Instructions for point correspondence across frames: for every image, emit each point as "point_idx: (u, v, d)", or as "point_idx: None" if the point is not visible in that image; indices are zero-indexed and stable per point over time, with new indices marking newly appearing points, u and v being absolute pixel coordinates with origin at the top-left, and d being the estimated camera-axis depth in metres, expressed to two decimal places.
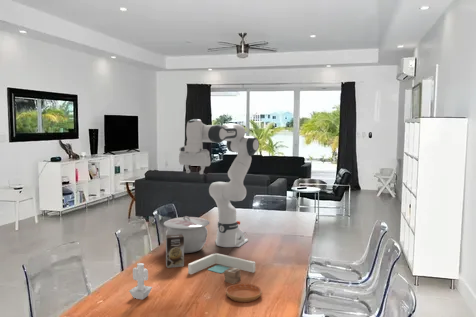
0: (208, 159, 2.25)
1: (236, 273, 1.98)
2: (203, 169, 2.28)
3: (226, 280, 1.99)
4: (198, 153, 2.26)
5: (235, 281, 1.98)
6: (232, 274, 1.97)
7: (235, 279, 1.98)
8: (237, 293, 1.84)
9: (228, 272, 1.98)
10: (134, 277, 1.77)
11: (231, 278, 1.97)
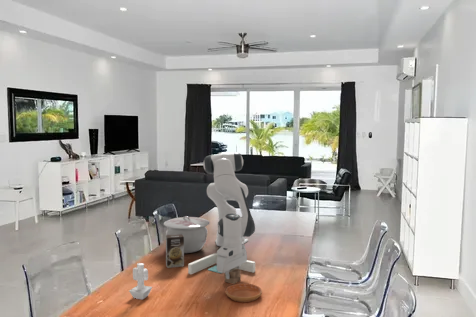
0: None
1: (236, 273, 1.98)
2: None
3: (226, 280, 1.99)
4: None
5: (235, 281, 1.98)
6: (232, 274, 1.97)
7: (235, 279, 1.98)
8: (237, 293, 1.84)
9: None
10: (134, 277, 1.77)
11: (231, 277, 1.97)
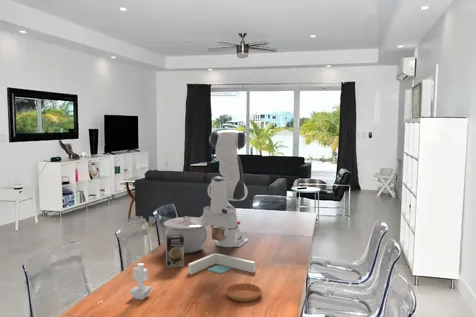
0: None
1: None
2: None
3: (221, 238, 2.12)
4: None
5: None
6: None
7: None
8: (237, 293, 1.84)
9: (223, 230, 2.13)
10: (134, 277, 1.77)
11: None
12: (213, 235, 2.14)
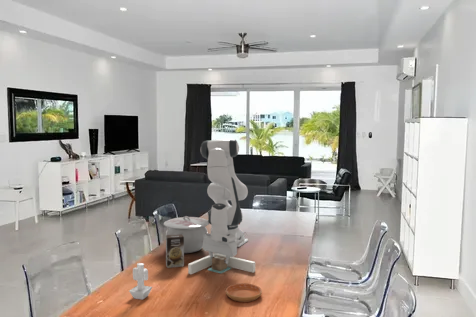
0: None
1: None
2: (210, 254, 2.19)
3: (221, 268, 2.14)
4: None
5: None
6: None
7: None
8: (237, 293, 1.84)
9: (223, 260, 2.14)
10: (134, 277, 1.77)
11: (225, 263, 2.16)
12: (213, 265, 2.15)
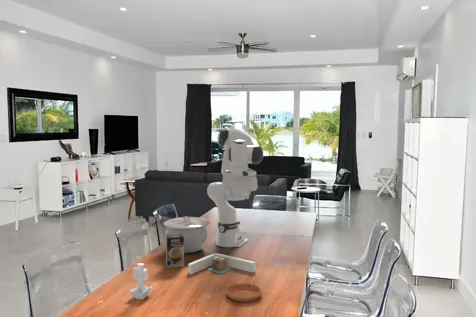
0: None
1: None
2: None
3: (221, 268, 2.14)
4: None
5: None
6: (225, 260, 2.16)
7: None
8: (237, 293, 1.84)
9: (223, 260, 2.14)
10: (134, 277, 1.77)
11: (225, 263, 2.16)
12: (213, 265, 2.15)
